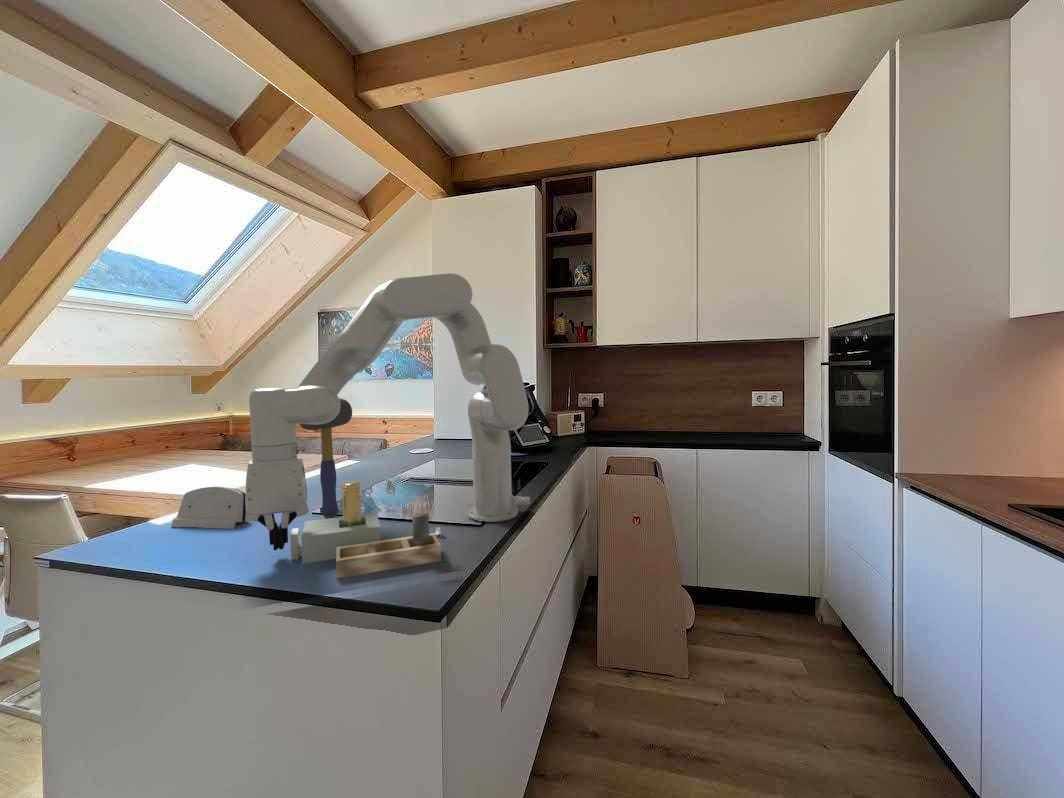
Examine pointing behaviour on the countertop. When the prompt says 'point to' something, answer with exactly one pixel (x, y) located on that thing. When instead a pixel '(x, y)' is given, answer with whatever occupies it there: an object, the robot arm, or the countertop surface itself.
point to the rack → (390, 551)
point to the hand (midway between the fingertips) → (279, 547)
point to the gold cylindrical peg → (351, 504)
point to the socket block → (336, 536)
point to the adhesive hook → (438, 532)
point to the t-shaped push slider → (295, 544)
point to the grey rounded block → (211, 508)
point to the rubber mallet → (330, 458)
